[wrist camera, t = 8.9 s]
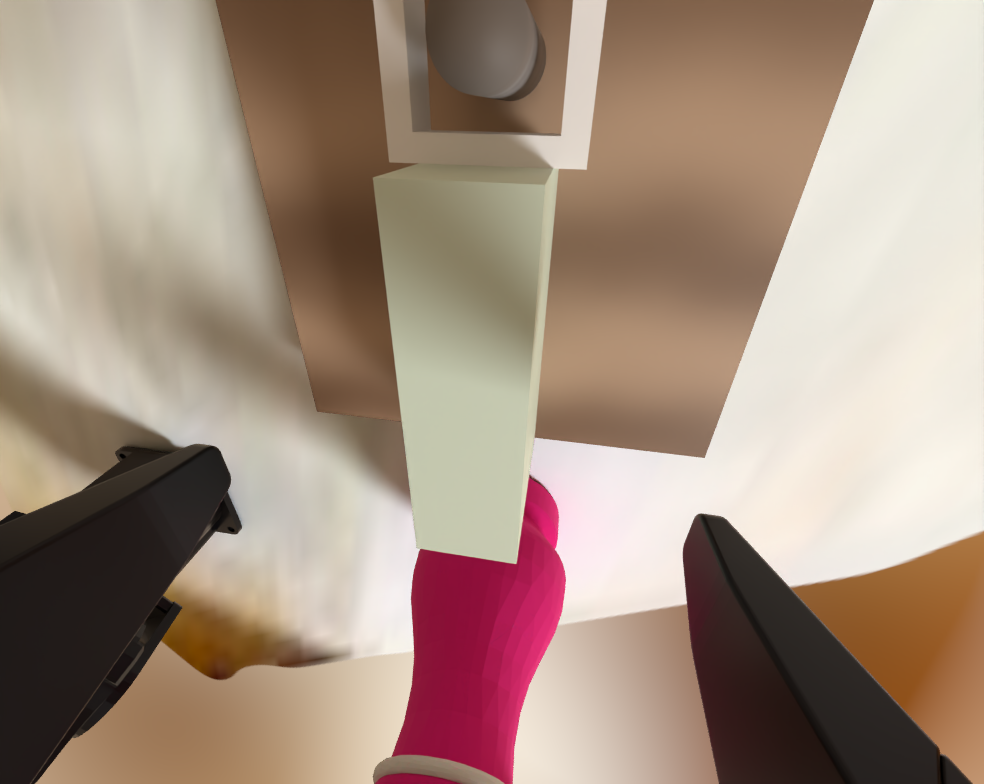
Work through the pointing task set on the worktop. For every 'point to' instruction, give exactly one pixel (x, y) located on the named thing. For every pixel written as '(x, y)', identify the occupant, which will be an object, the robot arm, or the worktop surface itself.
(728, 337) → the brown open rectangular box
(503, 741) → the pepper mill
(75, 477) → the worktop surface
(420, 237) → the light grey piece
